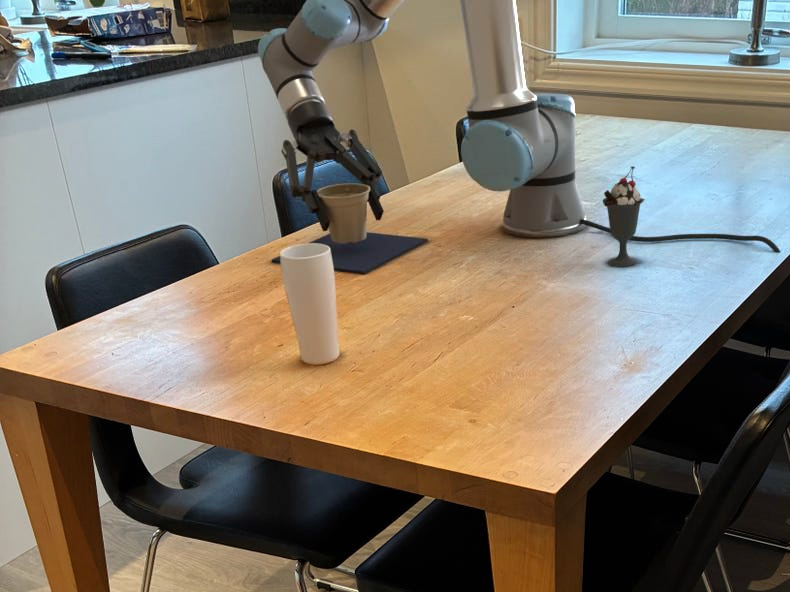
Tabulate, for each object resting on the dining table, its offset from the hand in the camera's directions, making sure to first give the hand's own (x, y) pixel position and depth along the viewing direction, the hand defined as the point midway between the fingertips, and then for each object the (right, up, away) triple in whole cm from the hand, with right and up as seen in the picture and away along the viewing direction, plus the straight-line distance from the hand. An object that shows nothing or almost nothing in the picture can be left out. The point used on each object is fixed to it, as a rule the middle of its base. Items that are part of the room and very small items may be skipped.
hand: (353, 221), depth 180 cm
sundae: (+45, -10, -9) cm, 47 cm away
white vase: (0, -30, -38) cm, 48 cm away
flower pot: (-1, -2, +4) cm, 5 cm away
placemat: (-1, -4, +5) cm, 7 cm away
